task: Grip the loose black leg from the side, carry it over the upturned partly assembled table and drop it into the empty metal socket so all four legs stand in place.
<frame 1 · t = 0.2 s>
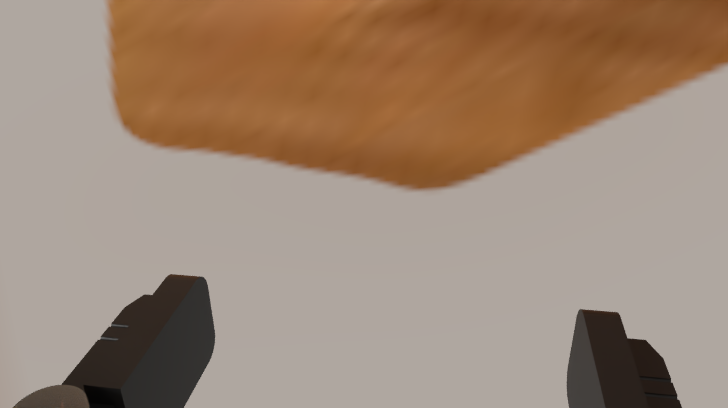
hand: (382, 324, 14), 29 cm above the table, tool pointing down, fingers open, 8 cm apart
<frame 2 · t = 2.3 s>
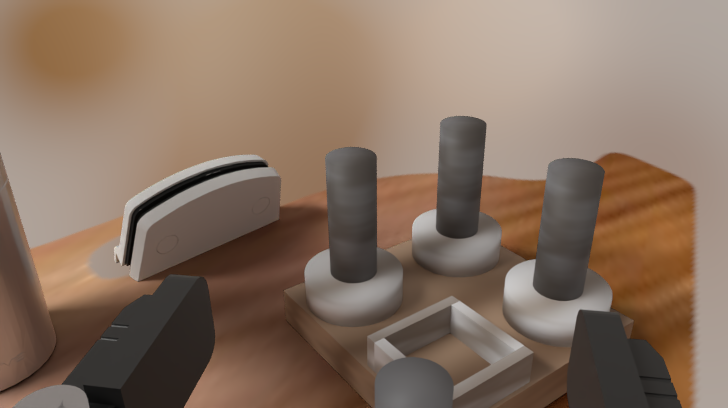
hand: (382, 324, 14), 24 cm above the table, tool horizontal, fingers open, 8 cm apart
upturned partly assembled table: (449, 335, 50), on the table
white arched grooved block: (208, 246, 64), on the table
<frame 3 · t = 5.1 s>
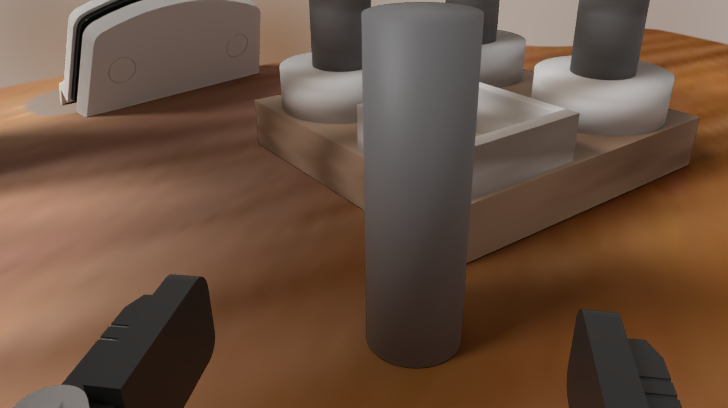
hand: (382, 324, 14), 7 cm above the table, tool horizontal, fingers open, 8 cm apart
loose leg: (413, 335, 24), on the table
upturned partly assembled table: (462, 153, 40), on the table
white arched grooved block: (174, 94, 54), on the table
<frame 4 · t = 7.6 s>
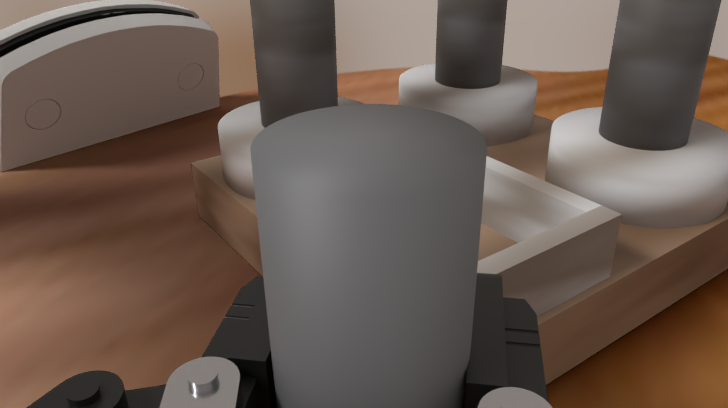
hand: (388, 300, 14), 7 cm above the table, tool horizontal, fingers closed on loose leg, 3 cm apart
upturned partly assembled table: (457, 232, 31), on the table
white arched grooved block: (116, 136, 45), on the table
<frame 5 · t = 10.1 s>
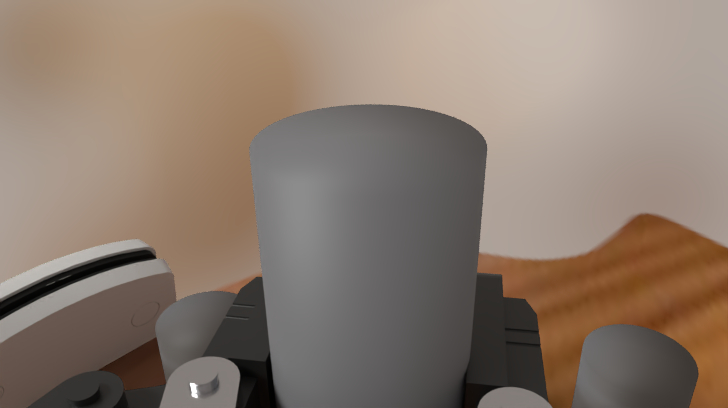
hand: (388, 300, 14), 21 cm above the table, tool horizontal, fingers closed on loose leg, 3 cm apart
white arched grooved block: (67, 379, 43), on the table
when the fingers open (11 cm above the table, at t = 12.8 s): loose leg drops 1 cm, resting on upturned partly assembled table.
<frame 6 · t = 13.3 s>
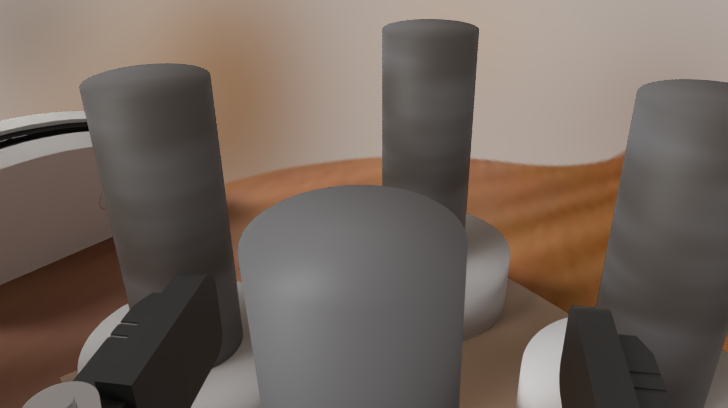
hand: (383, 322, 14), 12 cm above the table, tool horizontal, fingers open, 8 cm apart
white arched grooved block: (26, 268, 38), on the table
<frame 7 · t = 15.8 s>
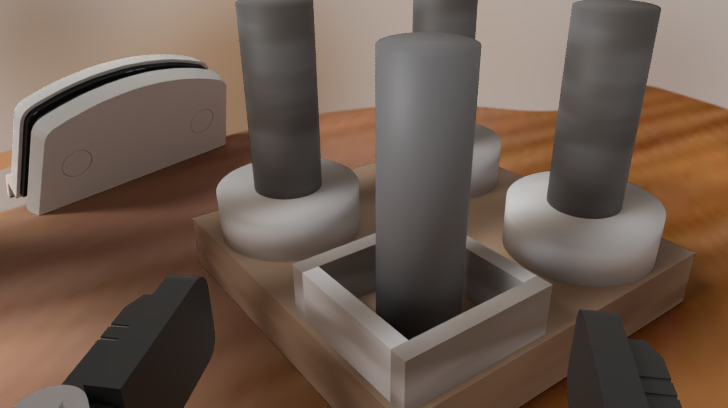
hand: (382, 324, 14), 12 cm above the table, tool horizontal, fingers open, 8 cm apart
loose leg: (417, 323, 27), point 3 cm above the table, touching upturned partly assembled table
upturned partly assembled table: (427, 280, 35), on the table
white arched grooved block: (135, 176, 49), on the table
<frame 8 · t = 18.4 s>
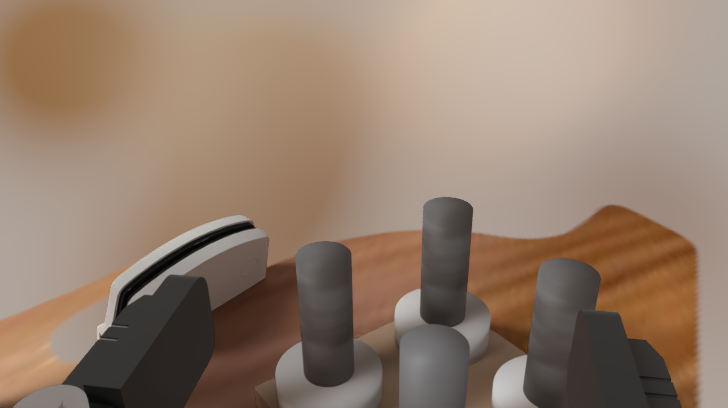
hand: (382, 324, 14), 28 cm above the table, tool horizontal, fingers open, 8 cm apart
white arched grooved block: (195, 314, 61), on the table
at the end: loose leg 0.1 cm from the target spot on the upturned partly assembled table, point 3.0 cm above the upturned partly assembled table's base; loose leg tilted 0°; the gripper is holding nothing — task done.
